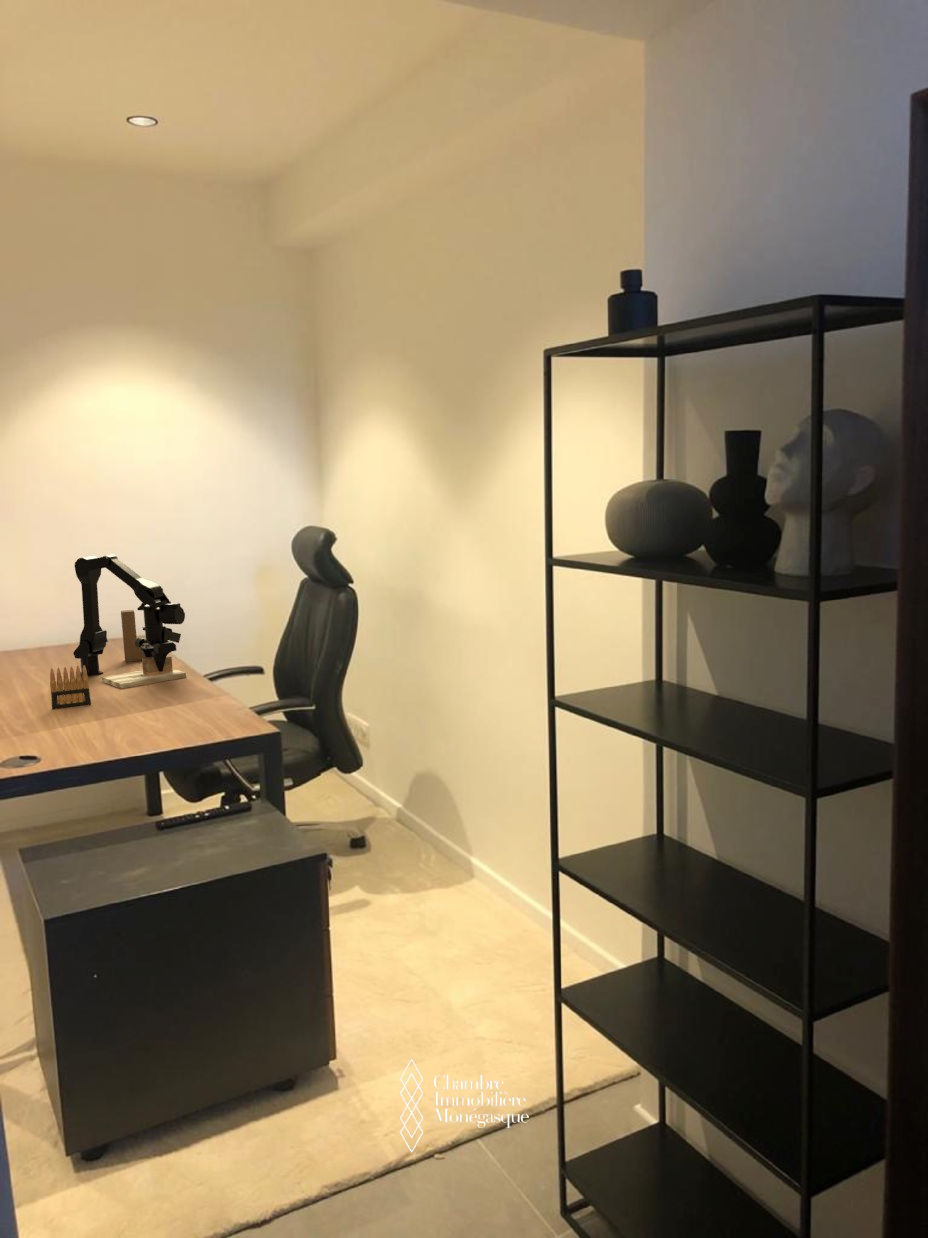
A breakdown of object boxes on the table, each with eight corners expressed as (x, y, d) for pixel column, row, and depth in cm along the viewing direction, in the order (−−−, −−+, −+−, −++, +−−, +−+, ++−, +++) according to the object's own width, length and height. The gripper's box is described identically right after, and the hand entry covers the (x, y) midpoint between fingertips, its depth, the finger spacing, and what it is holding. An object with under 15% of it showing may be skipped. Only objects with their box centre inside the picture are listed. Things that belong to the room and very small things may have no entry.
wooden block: (150, 657, 370) (146, 608, 367) (151, 659, 366) (147, 610, 363) (124, 659, 367) (120, 610, 364) (125, 662, 363) (121, 612, 360)
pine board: (102, 681, 330) (102, 677, 330) (166, 670, 345) (165, 666, 344) (121, 688, 319) (120, 683, 319) (186, 677, 334) (185, 672, 333)
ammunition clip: (90, 703, 300) (87, 664, 298) (91, 705, 299) (87, 665, 297) (52, 708, 296) (48, 668, 294) (52, 709, 295) (48, 669, 293)
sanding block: (143, 673, 334) (141, 658, 333) (165, 669, 339) (164, 654, 339) (149, 675, 330) (148, 660, 330) (172, 671, 336) (171, 656, 335)
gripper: (189, 623, 331) (193, 670, 333) (164, 617, 344) (167, 662, 347) (157, 628, 323) (161, 676, 326) (132, 621, 337) (136, 668, 340)
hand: (157, 670), depth 335 cm, fingers closed on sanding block, 5 cm apart
